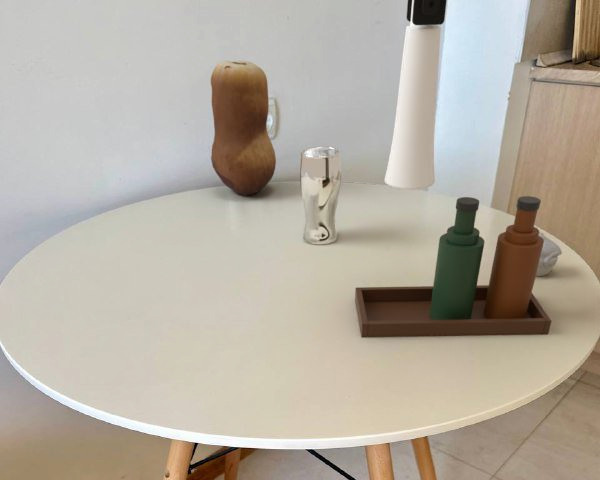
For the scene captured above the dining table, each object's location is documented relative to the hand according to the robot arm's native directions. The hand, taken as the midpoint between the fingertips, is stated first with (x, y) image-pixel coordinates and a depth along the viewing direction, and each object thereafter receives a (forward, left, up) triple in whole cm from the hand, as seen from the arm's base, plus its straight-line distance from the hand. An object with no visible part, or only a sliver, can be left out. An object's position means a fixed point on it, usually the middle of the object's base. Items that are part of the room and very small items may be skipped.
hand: (424, 20), depth 62 cm
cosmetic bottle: (0, 0, -17) cm, 17 cm away
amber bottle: (-15, +1, -35) cm, 38 cm away
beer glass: (+10, -30, -36) cm, 48 cm away
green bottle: (-7, +1, -35) cm, 35 cm away
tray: (-7, +1, -35) cm, 36 cm away
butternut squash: (+25, -57, -36) cm, 72 cm away
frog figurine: (-23, -13, -36) cm, 45 cm away
